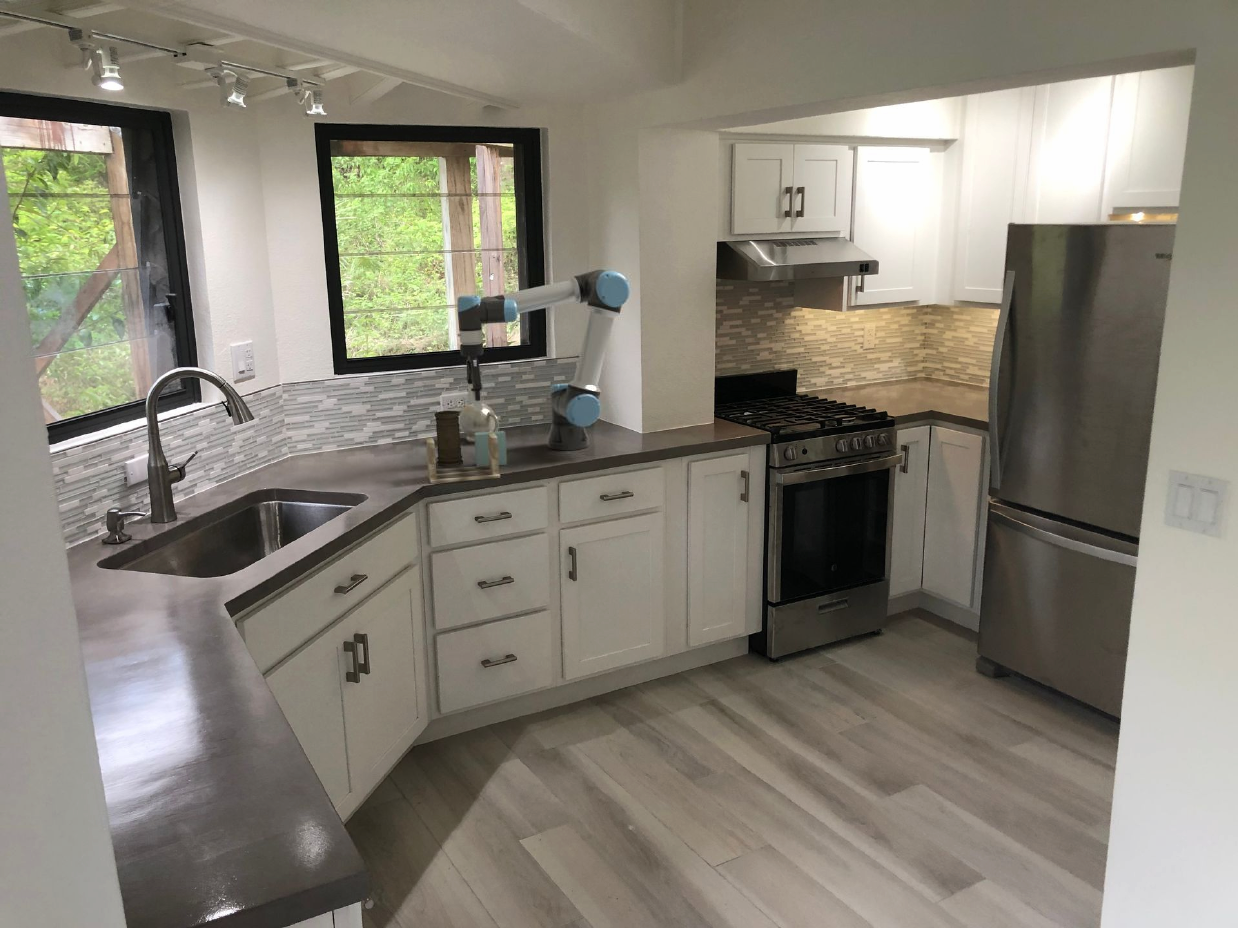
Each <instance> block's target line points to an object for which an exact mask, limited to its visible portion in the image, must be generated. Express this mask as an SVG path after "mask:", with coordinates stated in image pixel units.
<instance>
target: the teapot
mask: <svg viewBox="0 0 1238 928" xmlns="http://www.w3.org/2000/svg"><path fill="white" fill-rule="evenodd" d="M461 409H462V410H461V412H460V415H459V416H458V417H459V428H460V429H461V432H463V434H465V435H466V441H468V442H469V443H474V444H475V436H474V433H480V432H494V431H499V428H500V427H499V426H500V422H499V418H498V416H497V415H496V414H495V412H494V411H493V409H492V408H491V407H490V406H489V405H488V404H485V403H483V402H482V410H476V411H474V404H473V403H468V404H467V405H462V406H461Z"/></svg>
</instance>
